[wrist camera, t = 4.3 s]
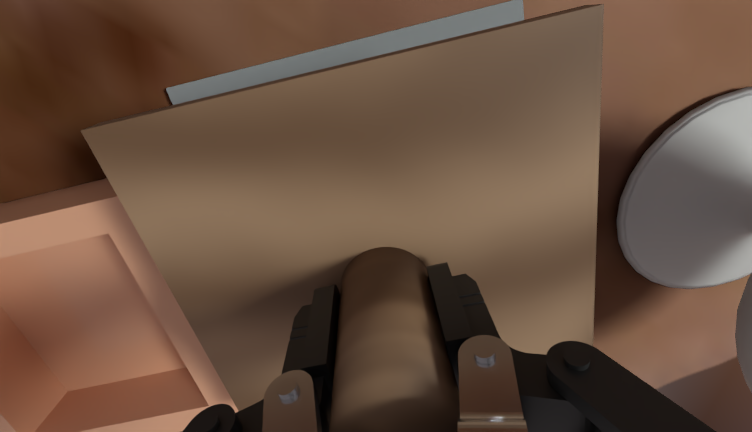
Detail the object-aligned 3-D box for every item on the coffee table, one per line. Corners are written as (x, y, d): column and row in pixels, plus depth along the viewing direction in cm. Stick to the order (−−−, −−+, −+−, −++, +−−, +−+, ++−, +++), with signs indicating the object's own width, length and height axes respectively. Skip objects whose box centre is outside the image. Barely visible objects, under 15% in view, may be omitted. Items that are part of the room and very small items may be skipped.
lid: (100, 122, 12) (-164, 227, 6) (584, 5, 11) (856, -12, 5) (264, 427, 19) (215, 627, 13) (580, 370, 18) (696, 558, 12)
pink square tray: (-72, 220, 22) (-173, 264, 18) (171, 162, 21) (124, 194, 17) (68, 398, 27) (17, 463, 23) (263, 359, 26) (244, 419, 22)
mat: (168, 87, 19) (165, 88, 19) (520, -2, 18) (522, -2, 18) (282, 349, 26) (281, 353, 26) (540, 297, 25) (542, 299, 25)
